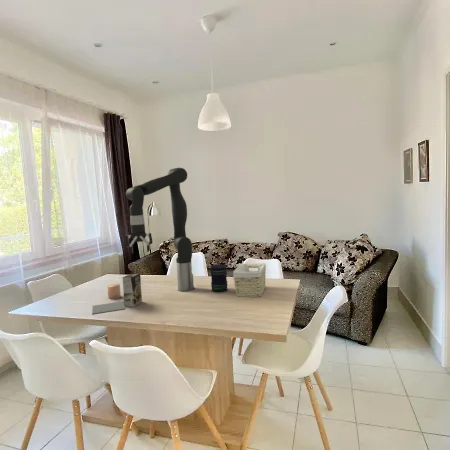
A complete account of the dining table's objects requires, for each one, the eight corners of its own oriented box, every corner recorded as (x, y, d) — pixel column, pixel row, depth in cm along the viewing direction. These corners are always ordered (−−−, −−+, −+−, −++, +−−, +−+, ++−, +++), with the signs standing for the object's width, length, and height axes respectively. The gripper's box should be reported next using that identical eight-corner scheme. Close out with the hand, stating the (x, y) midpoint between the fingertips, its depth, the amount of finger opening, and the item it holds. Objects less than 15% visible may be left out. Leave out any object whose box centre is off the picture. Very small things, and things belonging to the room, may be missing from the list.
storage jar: (228, 287, 204) (227, 264, 202) (226, 292, 194) (225, 267, 193) (212, 288, 205) (211, 264, 203) (210, 292, 195) (209, 267, 194)
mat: (123, 301, 185) (123, 301, 185) (125, 309, 172) (125, 308, 172) (92, 306, 179) (92, 305, 179) (92, 314, 166) (92, 313, 166)
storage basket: (261, 298, 180) (260, 271, 179) (233, 297, 184) (231, 271, 183) (267, 286, 203) (266, 263, 202) (241, 285, 207) (240, 262, 206)
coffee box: (135, 306, 175) (132, 277, 174) (124, 306, 176) (121, 277, 175) (142, 301, 184) (140, 273, 183) (132, 301, 185) (130, 273, 184)
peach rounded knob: (120, 294, 200) (119, 283, 199) (121, 297, 193) (120, 286, 193) (108, 296, 197) (107, 285, 197) (108, 299, 191) (107, 287, 190)
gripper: (150, 222, 186) (153, 250, 187) (125, 224, 183) (127, 252, 185) (150, 223, 178) (152, 252, 180) (123, 225, 176) (126, 254, 177)
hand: (140, 252), depth 182 cm, fingers open, 8 cm apart
